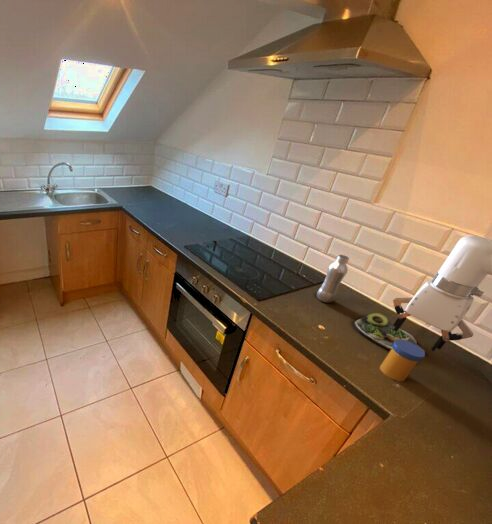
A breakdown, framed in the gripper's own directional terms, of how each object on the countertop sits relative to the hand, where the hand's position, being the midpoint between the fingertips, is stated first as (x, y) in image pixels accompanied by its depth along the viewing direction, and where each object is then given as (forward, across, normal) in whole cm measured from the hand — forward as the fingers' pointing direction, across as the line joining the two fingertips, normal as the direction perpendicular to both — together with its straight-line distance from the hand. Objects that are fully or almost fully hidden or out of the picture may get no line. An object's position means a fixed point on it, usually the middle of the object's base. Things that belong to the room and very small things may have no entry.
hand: (414, 338), depth 82 cm
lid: (+4, 0, 0) cm, 4 cm away
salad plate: (+14, +9, -20) cm, 26 cm away
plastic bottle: (+14, +31, -22) cm, 41 cm away
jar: (+14, 0, 0) cm, 14 cm away
